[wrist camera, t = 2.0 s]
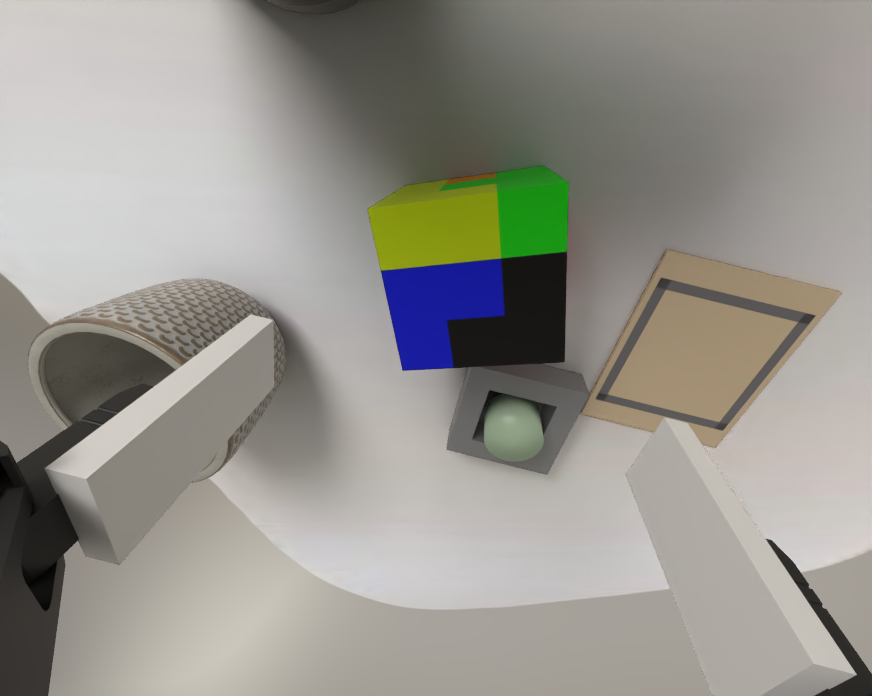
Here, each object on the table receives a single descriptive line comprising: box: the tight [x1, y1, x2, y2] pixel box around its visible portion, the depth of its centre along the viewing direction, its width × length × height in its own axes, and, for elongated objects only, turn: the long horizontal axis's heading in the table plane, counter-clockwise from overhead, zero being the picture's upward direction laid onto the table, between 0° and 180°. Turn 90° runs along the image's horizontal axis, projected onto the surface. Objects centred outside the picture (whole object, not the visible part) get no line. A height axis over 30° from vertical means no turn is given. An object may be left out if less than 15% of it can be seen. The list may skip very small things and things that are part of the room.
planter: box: [28, 279, 286, 483], centre depth 31 cm, size 14×14×13 cm
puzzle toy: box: [368, 166, 568, 371], centre depth 26 cm, size 10×10×10 cm
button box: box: [446, 364, 589, 475], centre depth 35 cm, size 10×10×3 cm
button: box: [484, 393, 544, 462], centre depth 34 cm, size 5×5×4 cm
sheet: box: [581, 249, 842, 447], centre depth 32 cm, size 16×13×1 cm
